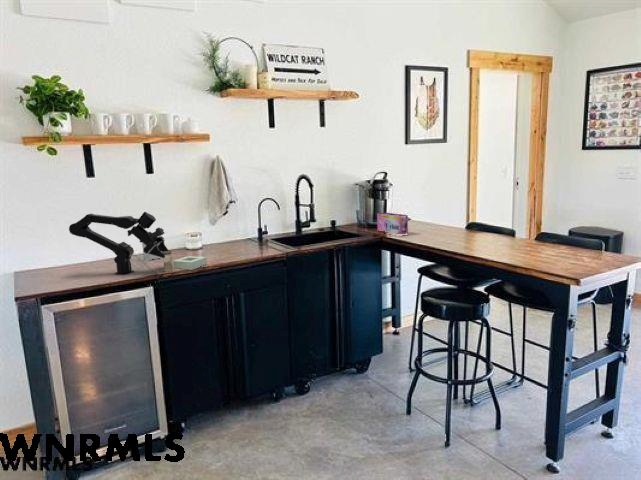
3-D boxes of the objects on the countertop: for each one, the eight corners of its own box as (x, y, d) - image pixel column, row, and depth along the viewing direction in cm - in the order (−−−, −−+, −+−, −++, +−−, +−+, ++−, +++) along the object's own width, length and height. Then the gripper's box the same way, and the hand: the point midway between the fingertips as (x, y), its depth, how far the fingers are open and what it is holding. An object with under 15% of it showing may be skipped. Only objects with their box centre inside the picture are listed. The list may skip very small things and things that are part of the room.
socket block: (192, 269, 250) (191, 262, 249) (173, 268, 255) (173, 260, 254) (206, 264, 261) (206, 257, 260) (188, 263, 266) (188, 256, 265)
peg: (169, 272, 247) (167, 252, 245) (162, 271, 249) (160, 252, 247) (174, 270, 251) (173, 251, 249) (168, 269, 253) (166, 250, 251)
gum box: (409, 235, 323) (409, 215, 321) (401, 237, 319) (400, 216, 316) (385, 231, 343) (385, 212, 340) (377, 232, 338) (376, 213, 336)
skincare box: (158, 257, 285) (155, 232, 282) (160, 259, 280) (157, 233, 277) (143, 259, 281) (140, 233, 278) (145, 261, 276) (142, 235, 273)
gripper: (147, 226, 236) (172, 247, 239) (158, 220, 255) (181, 240, 257) (132, 243, 237) (158, 263, 240) (144, 236, 256) (168, 255, 258)
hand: (167, 255), depth 249 cm, fingers open, 9 cm apart
